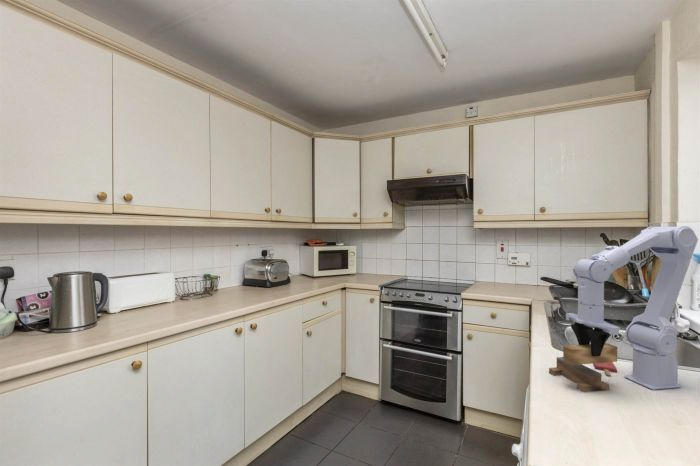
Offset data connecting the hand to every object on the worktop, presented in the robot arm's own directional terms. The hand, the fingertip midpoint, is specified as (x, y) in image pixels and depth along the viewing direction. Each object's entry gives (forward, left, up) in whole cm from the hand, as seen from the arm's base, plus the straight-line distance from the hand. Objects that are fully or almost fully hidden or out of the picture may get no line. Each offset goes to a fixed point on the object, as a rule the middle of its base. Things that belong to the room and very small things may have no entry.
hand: (590, 353), depth 91 cm
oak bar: (0, 0, -2) cm, 2 cm away
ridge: (+1, -3, -9) cm, 10 cm away
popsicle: (-15, -10, -10) cm, 21 cm away
